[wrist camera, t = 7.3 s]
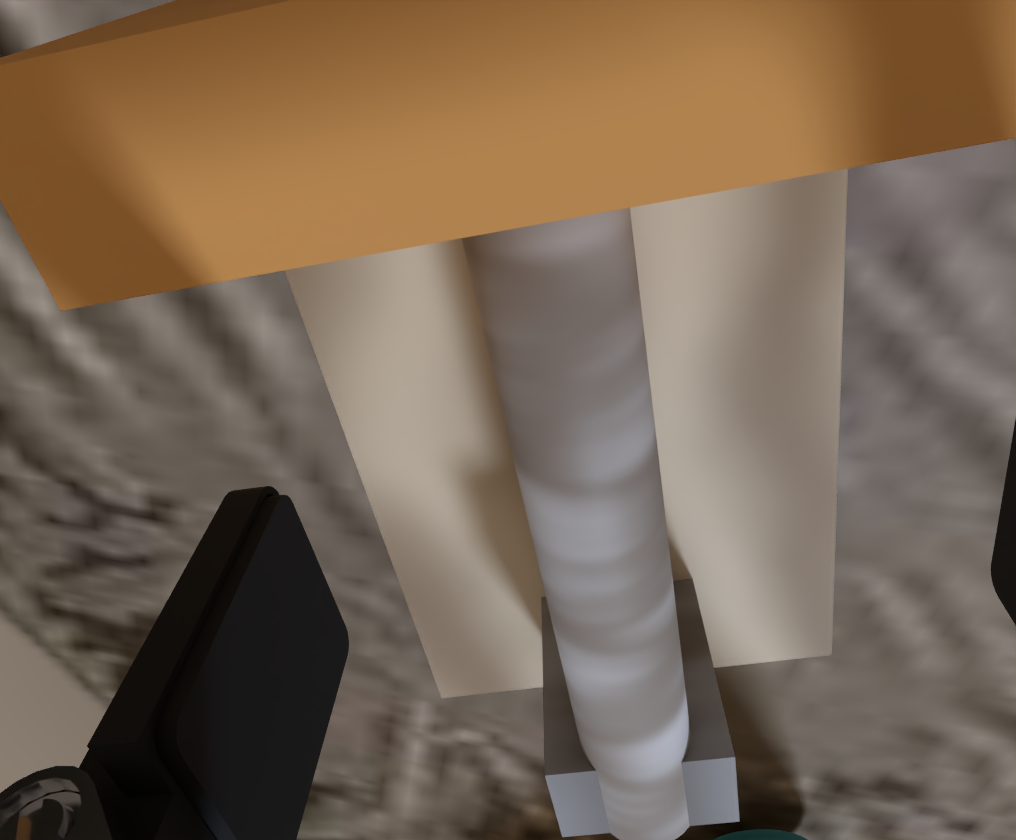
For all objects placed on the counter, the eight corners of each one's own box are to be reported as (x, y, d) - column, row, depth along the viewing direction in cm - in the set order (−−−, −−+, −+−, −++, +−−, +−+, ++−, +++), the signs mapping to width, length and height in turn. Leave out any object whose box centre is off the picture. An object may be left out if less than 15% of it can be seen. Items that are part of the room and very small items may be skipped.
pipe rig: (841, -532, 14) (1173, -971, 7) (818, 622, 30) (912, 860, 22) (97, -322, 16) (-265, -496, 9) (445, 665, 31) (420, 899, 24)
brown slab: (858, -156, 15) (1139, -189, 8) (851, 26, 16) (1081, 126, 9) (180, -2, 16) (-66, 79, 9) (236, 150, 18) (60, 311, 11)
